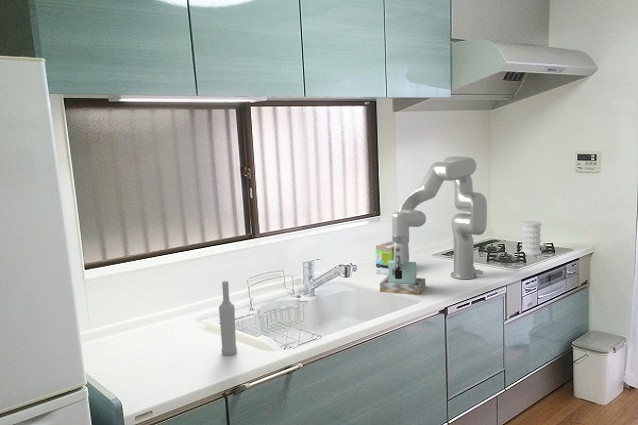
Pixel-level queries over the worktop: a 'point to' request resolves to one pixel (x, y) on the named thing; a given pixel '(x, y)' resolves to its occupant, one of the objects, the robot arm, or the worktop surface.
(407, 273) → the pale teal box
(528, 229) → the decorative container
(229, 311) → the bottle
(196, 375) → the worktop surface
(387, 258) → the tea box
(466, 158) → the robot arm
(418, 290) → the track base
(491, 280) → the worktop surface
